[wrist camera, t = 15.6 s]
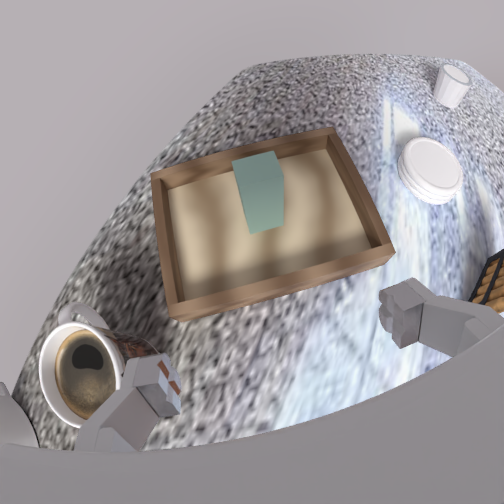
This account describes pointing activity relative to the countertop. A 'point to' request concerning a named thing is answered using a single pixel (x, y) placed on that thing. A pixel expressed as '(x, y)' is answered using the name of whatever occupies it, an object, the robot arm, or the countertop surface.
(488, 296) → the ammunition clip
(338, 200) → the wooden serving tray
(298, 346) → the countertop surface
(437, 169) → the white round disc stack
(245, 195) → the grey-green rectangular block
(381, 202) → the countertop surface
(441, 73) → the white cylinder
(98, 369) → the mug
